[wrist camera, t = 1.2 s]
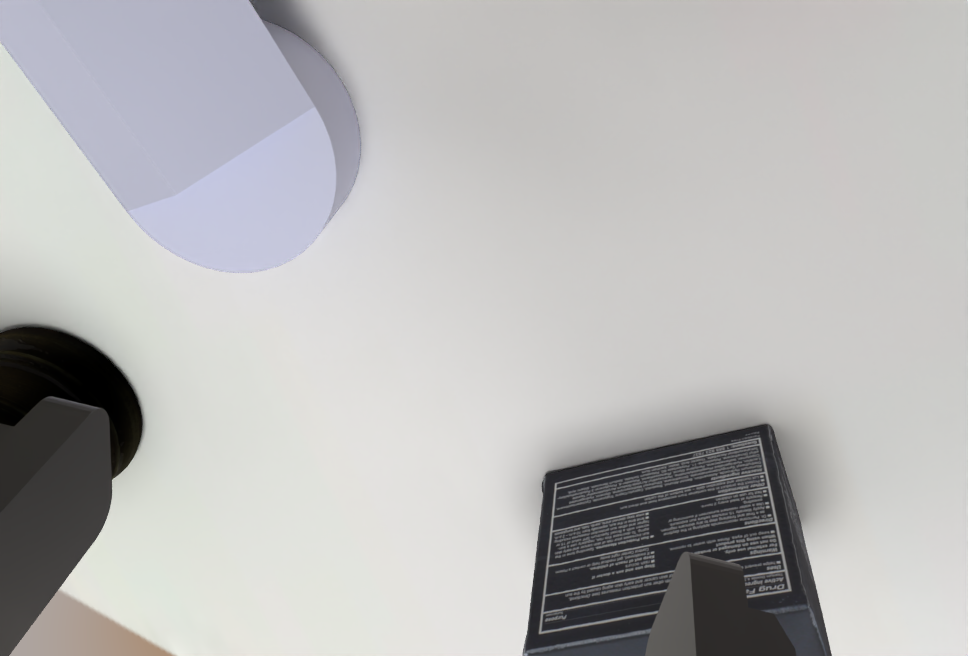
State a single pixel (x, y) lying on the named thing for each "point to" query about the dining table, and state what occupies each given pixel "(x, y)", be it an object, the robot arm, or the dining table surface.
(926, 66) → the dining table surface
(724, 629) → the robot arm
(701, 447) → the small box
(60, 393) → the container
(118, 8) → the tape dispenser
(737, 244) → the dining table surface
